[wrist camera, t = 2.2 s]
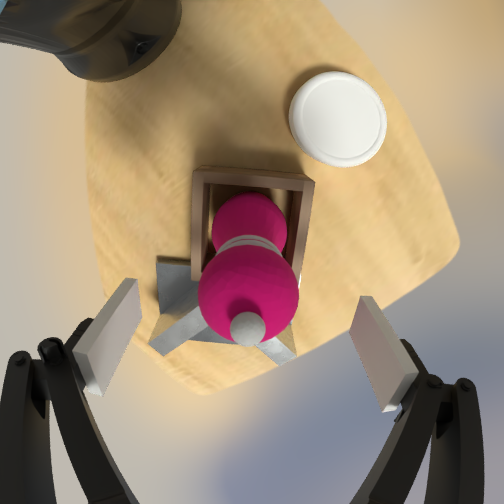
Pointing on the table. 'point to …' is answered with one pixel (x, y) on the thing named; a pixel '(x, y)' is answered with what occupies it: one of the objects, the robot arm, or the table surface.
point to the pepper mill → (248, 272)
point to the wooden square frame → (256, 179)
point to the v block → (198, 316)
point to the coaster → (338, 119)
